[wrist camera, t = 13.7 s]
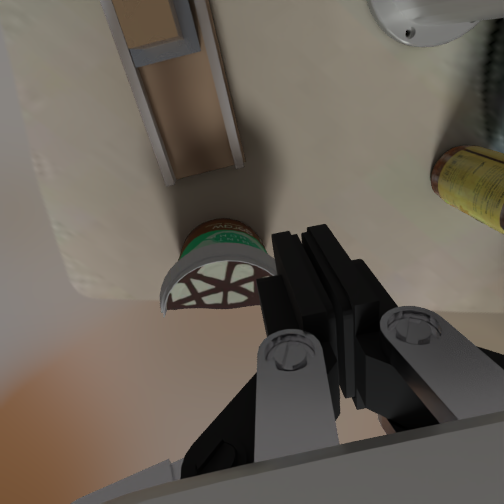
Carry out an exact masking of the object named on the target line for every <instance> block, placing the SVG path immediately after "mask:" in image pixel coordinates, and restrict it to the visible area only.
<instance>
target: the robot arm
mask: <svg viewBox="0 0 504 504" xmlns="http://www.w3.org/2000/svg"><path fill="white" fill-rule="evenodd" d="M366 1H367V3H368V6H369V9H370V12H371V14H372V16H373V17H374V19H375V21H376V22H377V24H378V26H379V27H380V28H381V29H382V30H383V31H384V32H385V33H386V34H387V35H388V36H390V37H391V38H393V39H394V40H396V41H397V42H399V43H402V44H405V45H408V46H414V47H434V46H438V45H442V44H446V43H448V42H450V41H453V40H455V39H457V38H459V37H461V36H462V35H464V34H465V33H467V32H468V31H469V30H471V29H472V28H474V27H475V26H476V25H477V24H478V23H479V22H480V21H481V20H488V19H497V18H504V0H366ZM406 30H407V31H408V35H407V36H406V35H405V34H406ZM301 237H302V243H301V241H300V239H299V237H298V235H297V234H294V235H291V233H290V232H289V231H286V232H280V233H275V234H272V244H273V250H274V257H275V264H276V271H277V275H275V276H270V277H264V278H259V279H256V283H257V289H258V294H259V299H260V305H261V310H262V314H263V319H264V325H265V330H266V334H267V338H266V339H264V341H263V342H262V343H261V345H260V346H259V350H258V356H257V373H256V374H255V375H254V376H253V377H252V378H251V379H250V380H249V382H248V383H247V384H246V385H245V386H244V387H243V388H242V389H241V391H240V392H239V393H238V394H237V395H236V396H235V397H234V398H233V400H232V401H231V402H230V403H229V404H228V405H227V406H226V408H225V409H224V410H223V411H222V412H221V413H220V414H219V415H218V416H217V418H216V419H215V420H214V421H213V422H212V423H211V424H210V425H209V427H208V428H207V429H206V430H205V431H204V432H203V433H202V434H201V436H200V437H199V438H198V439H197V440H196V441H195V442H194V443H193V445H192V446H191V447H190V449H189V450H188V452H187V453H186V455H185V457H184V458H182V459H180V460H178V461H176V462H173V463H171V462H170V460H169V459H167V460H165V461H163V462H161V463H158V464H156V465H154V466H151V467H149V468H147V469H145V470H142V471H140V472H138V473H136V474H133V475H131V476H129V477H127V478H124V479H122V480H120V481H118V482H115V483H113V484H111V485H109V486H106V487H104V488H102V489H99V490H97V491H95V492H93V493H90V494H88V495H86V496H83V497H81V498H79V499H77V500H76V501H74V502H73V503H71V504H504V355H502V354H499V353H496V352H493V351H490V350H487V349H483V348H480V347H477V346H475V345H474V344H473V343H472V342H470V341H469V340H468V339H467V338H466V337H465V336H463V335H462V334H461V333H460V332H459V331H457V330H456V329H455V328H454V327H453V326H452V325H450V324H449V323H448V322H447V321H446V320H444V319H443V318H442V317H441V316H439V315H438V314H436V313H435V312H433V311H430V310H428V309H425V308H421V307H416V306H402V307H398V306H397V305H396V303H395V302H394V301H393V299H392V298H391V297H390V295H389V294H388V293H387V291H386V290H385V289H384V287H383V286H382V285H381V283H380V282H379V281H378V279H377V278H376V277H375V275H374V274H373V273H372V272H371V270H370V269H369V268H368V266H367V265H366V264H365V262H364V261H363V260H362V259H357V260H351V259H350V258H349V256H348V255H347V253H346V252H345V251H344V249H343V248H342V246H341V245H340V243H339V242H338V241H337V239H336V238H335V236H334V235H333V233H332V232H331V231H330V229H329V228H328V226H327V225H326V224H322V225H317V226H312V227H307V232H305V233H302V234H301ZM339 385H340V388H341V390H342V392H343V395H344V397H345V398H350V397H352V399H353V401H354V404H355V406H356V409H357V410H359V409H364V408H367V409H369V410H371V411H373V412H375V413H377V414H378V419H379V422H380V424H381V426H382V428H383V429H384V431H385V432H386V434H387V435H383V436H379V437H374V438H369V439H364V440H359V441H355V442H350V443H345V444H341V445H339V439H338V434H337V428H336V423H335V421H336V419H337V418H338V416H339V414H340V390H339Z"/></svg>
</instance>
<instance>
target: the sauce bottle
mask: <svg viewBox="0 0 504 504" xmlns="http://www.w3.org/2000/svg"><path fill="white" fill-rule="evenodd" d="M431 186H432V189H433V191H434V192H435V193H436V194H437V195H439V196H440V198H442V199H443V200H444V201H445V202H446V203H448V204H450V205H451V206H453V207H455V208H457V209H459V210H461V211H462V212H464V213H466V214H468V215H470V216H471V217H473V218H475V219H476V220H478V221H480V222H481V223H484V224H486V225H488V226H489V227H491V228H493V229H495V230H497V231H499V232H500V233H502V234H504V154H503V153H500V152H497V151H493V150H490V149H486V148H483V147H479V146H469V145H465V146H459V147H454V148H452V149H450V150H448V151H447V152H446V153H444V155H442V157H441V158H440V159H439V160H438V161H437V162H436V164H435V166H434V168H433V171H432V173H431Z"/></svg>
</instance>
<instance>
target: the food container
mask: <svg viewBox="0 0 504 504" xmlns="http://www.w3.org/2000/svg"><path fill="white" fill-rule="evenodd" d="M275 275H277V271H276V264H275V259H274V258H272V257H271V256H270V255H268V253H267V251H266V250H265V248H264V246H263V244H262V242H261V240H260V238H259V237H258V235H257V234H256V233H255V232H254V231H253V230H252V228H250V227H249V226H247V225H245V224H244V223H242V222H240V221H237V220H233V219H225V218H221V219H214V220H210V221H207V222H205V223H203V224H201V225H199V226H198V227H196V228H195V229H194V230H193V231H192V232H191V233H190V234H189V236H188V237H187V239H186V240H185V242H184V245H183V248H182V251H181V254H180V257H179V259H178V262H176V263H175V265H174V266H173V267H172V268H171V269H170V270H169V272H168V274H167V275H166V277H165V279H164V281H163V284H162V287H161V292H160V307H161V313H164V317H165V314H166V311H167V310H177V309H184V308H209V309H232V308H240V307H246V306H254V305H260V299H259V294H258V289H257V283H256V279H259V278H264V277H270V276H275Z"/></svg>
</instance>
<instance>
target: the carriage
mask: <svg viewBox="0 0 504 504" xmlns="http://www.w3.org/2000/svg"><path fill="white" fill-rule="evenodd" d="M112 2H113V5H114V8H115V11H116V14H117V17H118V20H119V23H120V25H121V28H122V31H123V34H124V37H125V40H126V43H127V46H128V49H129V50H130V52H131V55H132V58H133V61H134V64H135V67H136V68H137V67H142V66H146V65H150V64H153V63H157V62H161V61H165V60H169V59H173V58H177V57H181V56H185V55H188V54H192V53H196V52H200V51H201V48H200V44H199V40H198V36H197V32H196V28H195V24H194V20H193V16H192V12H191V8H190V5H189V1H188V0H112Z"/></svg>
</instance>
